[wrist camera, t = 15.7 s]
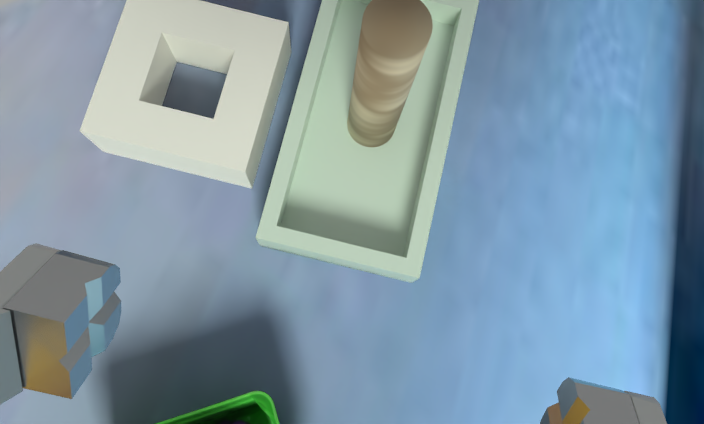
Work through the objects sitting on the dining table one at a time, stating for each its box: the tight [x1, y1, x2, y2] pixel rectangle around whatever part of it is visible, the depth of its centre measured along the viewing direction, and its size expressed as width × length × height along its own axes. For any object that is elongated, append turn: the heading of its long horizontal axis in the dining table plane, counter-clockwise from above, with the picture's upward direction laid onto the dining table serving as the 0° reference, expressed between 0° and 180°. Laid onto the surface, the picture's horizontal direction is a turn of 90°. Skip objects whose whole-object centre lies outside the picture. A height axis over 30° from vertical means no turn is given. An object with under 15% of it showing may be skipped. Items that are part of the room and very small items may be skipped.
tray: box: [256, 0, 479, 283], centre depth 39 cm, size 10×19×3 cm, turn 166°
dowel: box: [347, 0, 433, 147], centre depth 33 cm, size 3×3×13 cm
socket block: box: [80, 0, 291, 188], centre depth 38 cm, size 10×10×4 cm
